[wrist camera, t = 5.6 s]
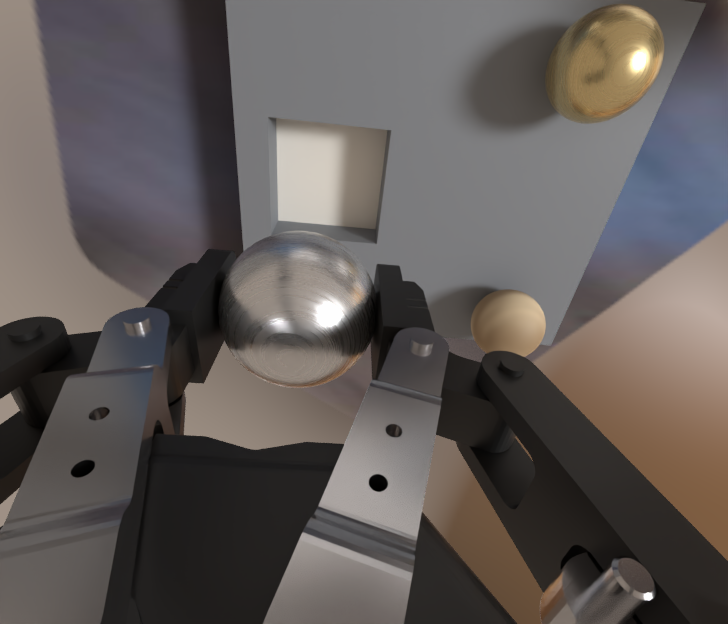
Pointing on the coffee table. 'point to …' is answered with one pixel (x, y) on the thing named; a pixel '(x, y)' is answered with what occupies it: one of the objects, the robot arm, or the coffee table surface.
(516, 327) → the oak ball
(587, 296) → the coffee table surface
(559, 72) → the brass ball
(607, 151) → the board
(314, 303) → the steel ball
